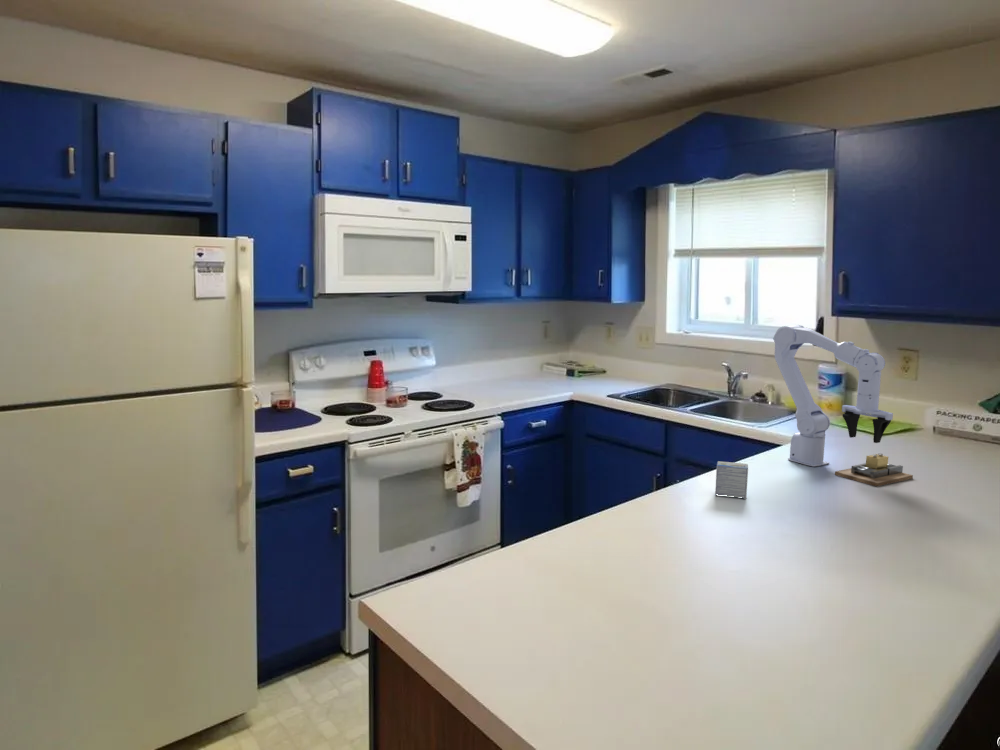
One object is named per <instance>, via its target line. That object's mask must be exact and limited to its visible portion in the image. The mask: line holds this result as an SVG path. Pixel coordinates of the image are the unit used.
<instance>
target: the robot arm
mask: <svg viewBox="0 0 1000 750" xmlns="http://www.w3.org/2000/svg"><path fill="white" fill-rule="evenodd" d="M772 339H773V341H774V342H773V343H774V359H775V362H776V365H777V366H778V368H779V371H780V374H781V375H782V377H783V380H784V382H785V384H786V386H787V389H788V392H789V394H790V396H791V399H792V400H793V403H794V406H795V408H796V411H795V418H796V427H797V430H798V432H795V433H794V434H792V436H791V439H790V449H789V457H788V458H787V460H788V461H792V462H794V463H799V464H802V465H804V466H808V467H809V466H810V467H812V468H815V467H819V466H825V465H829V464H830V462H829V461H825V460H824V458H825V457H824V455H825V444H826V431H827V430H828V429H830V425H831V421H830V418H829V416H828V415H827V414H826V413H825V412H824V411H823V410H822V408H821V406H820V405H819V404H817V403H815V401H814V399H813V396H812V394H811V392H810V389H809V388H808V386H807V383H806V381H805V379H804V376H803V373H802V372H801V370H800V368H799V365H798V363H797V361H796V359H795V356H796V354H797V352H798V350H799V349H801V347H802V346H803V345H804V344H810V345H811V344H812V345H814V346H816V347H818V348H821V349H823V350H826V351H828V352H831V353H833V356H834V358H835V359H837V360H838V361H840V362H842V363H844V364H846V365H849V366H851V367H852V368H853V367H854V368H856V370H857V372H858V380H857V392H856V393H857V394H856V405H849V404H843V405H842V406H841V412H843V414H842V418H843V420H844V422H845V424H846V426H847V432H848V436H849V438H852V439H853V438H856V436H857V432H858V423H859V420H860V416H867V417H870V418H873V419H872V426H873V439H872V440H873V443H874V444H878V443H881V440H882V438H883V435H884V433H885V431H886V430H887V428H888V426H889V425H890V424H891V423H892V420H893V419H894V418H893V417H894V413H893V412H889V411H886V410H885V411H884V410H881V409H879V404H880V403H879V402H880V392H881V391H880V390H881V383H882V382H881V379H882V370H883V369H884V368H885V366H886V360H885V358H884V357H883V356H882V354H879V352H870V349H867V348H864V349H863V348H862V347H859V346H856V345H855V342H853V341H842V342H840V343H839V342H838V341H835V340H833V339H831V338H830V337H828V336H826V335H824V334H822V333H820V332H818V331H816V330H813V329H812V328H810V327H805V326H803V325H801V324H795V325H790V326H789V325H783V326H781V327H778V329H777V330H776V331H775V334H774V335H773V338H772Z"/></svg>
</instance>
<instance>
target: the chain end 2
mask: <svg viewBox="0 0 1000 750" xmlns="http://www.w3.org/2000/svg"><path fill="white" fill-rule="evenodd" d="M886 469H888V475H893V474H898V473H903V470H904V466H903V465H902V464H901V465H900V464H899V465H895V464H890V463H888V467H887V468H886Z"/></svg>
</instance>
